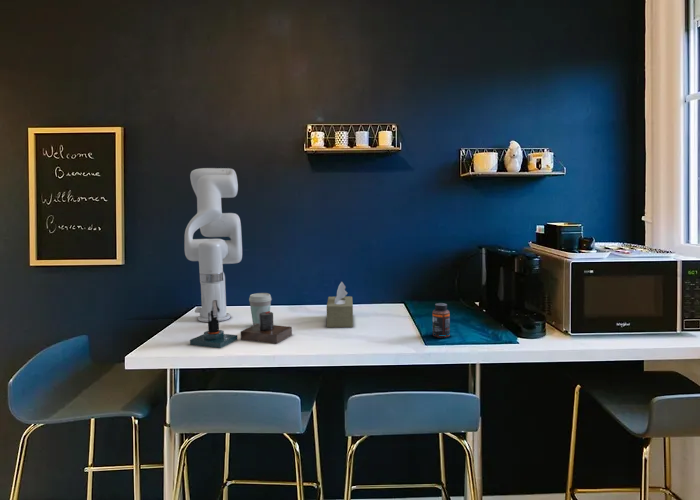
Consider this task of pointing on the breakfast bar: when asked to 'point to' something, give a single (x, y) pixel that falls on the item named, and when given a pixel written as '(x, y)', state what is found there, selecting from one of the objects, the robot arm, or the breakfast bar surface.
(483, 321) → the breakfast bar surface
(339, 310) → the tissue box
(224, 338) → the button box
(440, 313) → the supplement bottle
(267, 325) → the knob
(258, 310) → the coffee cup
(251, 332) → the panel
